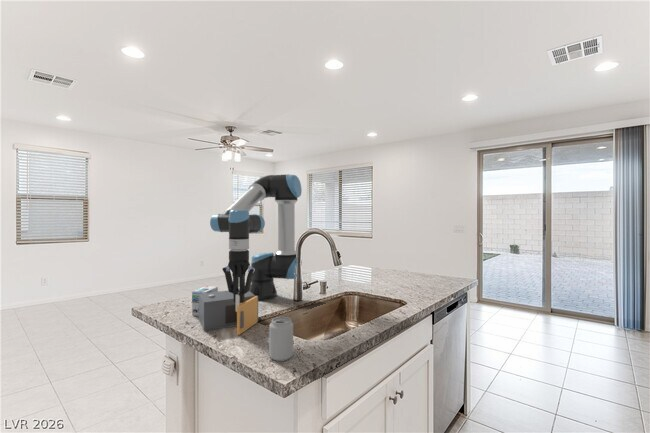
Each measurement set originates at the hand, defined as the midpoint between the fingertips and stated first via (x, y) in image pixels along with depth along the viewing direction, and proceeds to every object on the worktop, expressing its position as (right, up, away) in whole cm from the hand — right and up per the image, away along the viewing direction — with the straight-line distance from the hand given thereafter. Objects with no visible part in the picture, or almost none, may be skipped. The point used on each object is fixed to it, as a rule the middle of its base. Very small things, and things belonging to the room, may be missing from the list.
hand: (238, 310), depth 122 cm
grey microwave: (-8, -7, +10) cm, 14 cm away
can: (+19, -8, -22) cm, 30 cm away
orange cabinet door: (+4, -7, +1) cm, 8 cm away
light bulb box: (-21, -7, +21) cm, 30 cm away
